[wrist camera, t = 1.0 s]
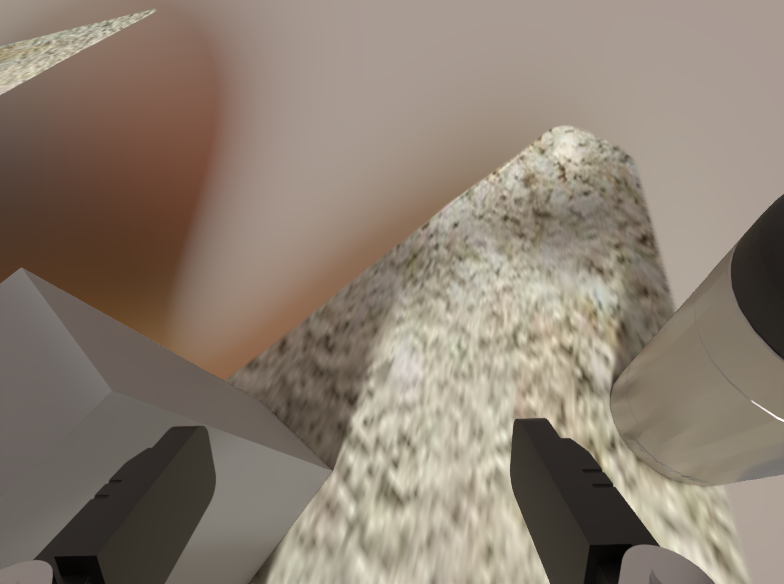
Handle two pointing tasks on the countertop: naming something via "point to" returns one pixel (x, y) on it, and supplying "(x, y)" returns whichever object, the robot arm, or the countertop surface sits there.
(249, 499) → the grey block
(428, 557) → the countertop surface
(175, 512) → the robot arm
